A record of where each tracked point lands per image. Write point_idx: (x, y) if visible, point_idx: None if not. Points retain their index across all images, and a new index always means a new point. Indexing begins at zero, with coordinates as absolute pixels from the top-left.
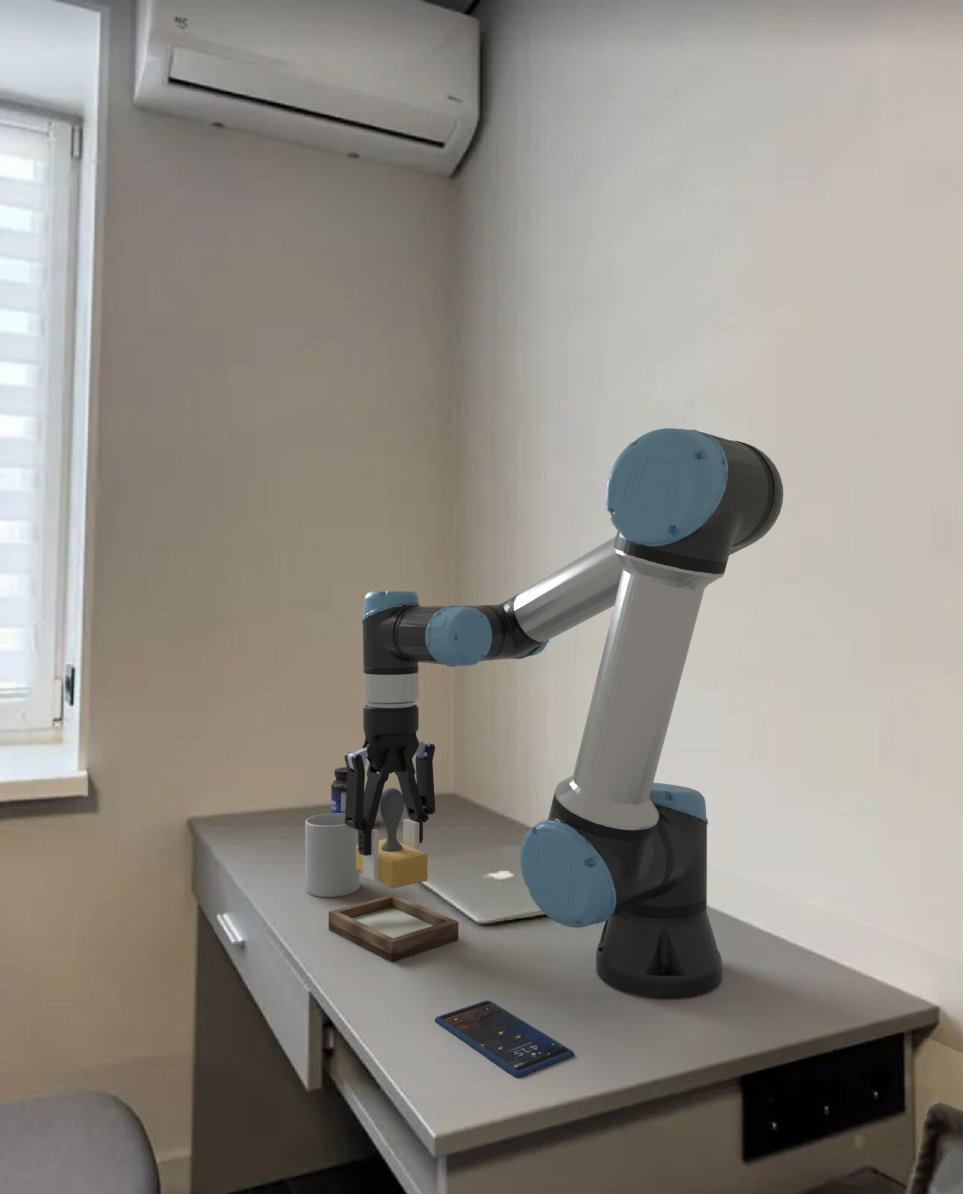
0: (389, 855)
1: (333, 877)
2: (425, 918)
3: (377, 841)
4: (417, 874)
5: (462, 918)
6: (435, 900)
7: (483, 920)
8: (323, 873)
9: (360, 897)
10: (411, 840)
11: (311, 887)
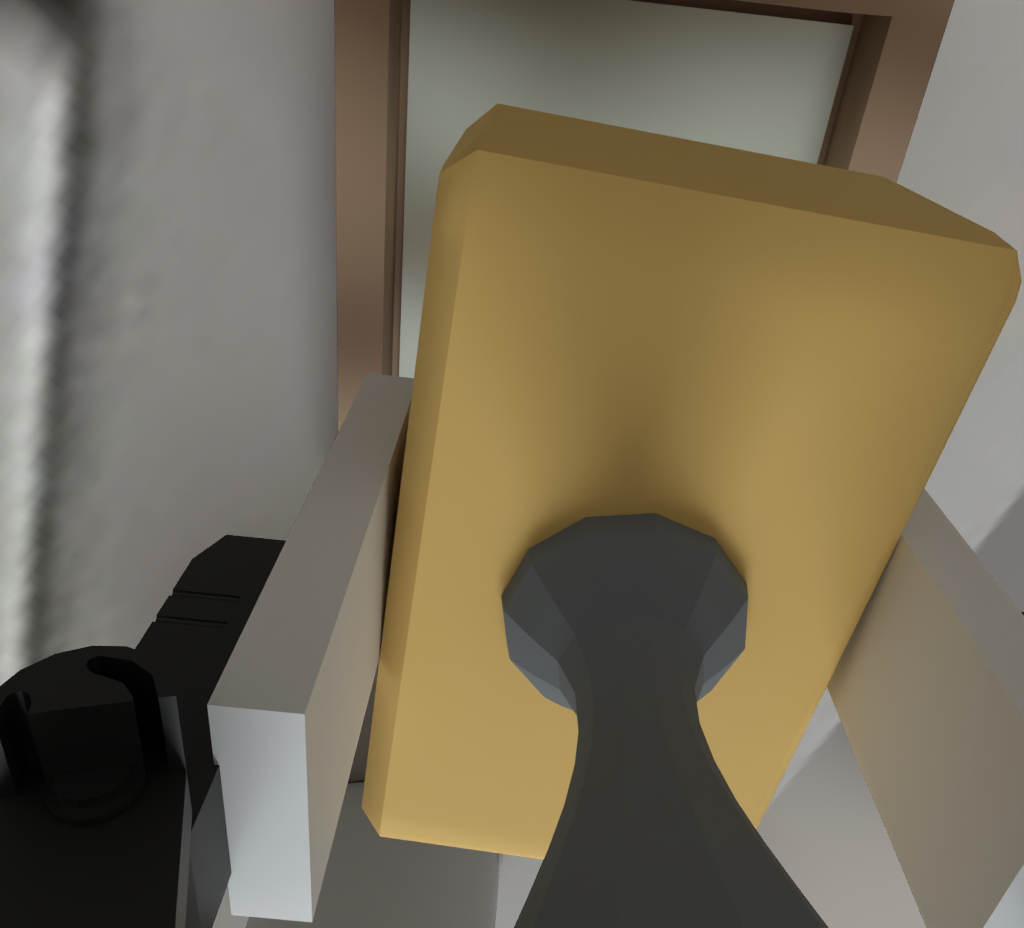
0: (857, 455)
1: (438, 875)
2: (391, 229)
3: (1005, 669)
4: (619, 138)
5: (116, 183)
6: (94, 489)
7: (19, 50)
8: (470, 915)
9: (363, 732)
10: (367, 589)
11: (497, 885)
